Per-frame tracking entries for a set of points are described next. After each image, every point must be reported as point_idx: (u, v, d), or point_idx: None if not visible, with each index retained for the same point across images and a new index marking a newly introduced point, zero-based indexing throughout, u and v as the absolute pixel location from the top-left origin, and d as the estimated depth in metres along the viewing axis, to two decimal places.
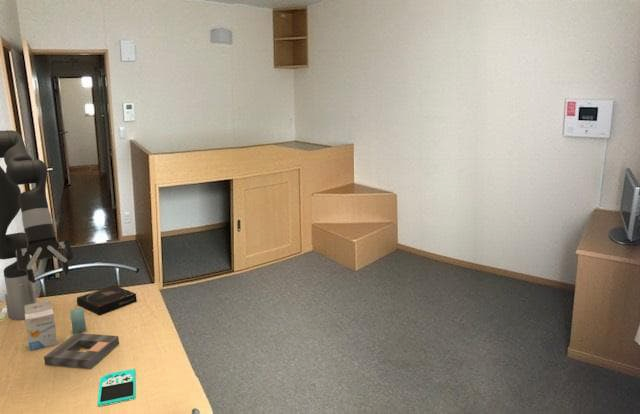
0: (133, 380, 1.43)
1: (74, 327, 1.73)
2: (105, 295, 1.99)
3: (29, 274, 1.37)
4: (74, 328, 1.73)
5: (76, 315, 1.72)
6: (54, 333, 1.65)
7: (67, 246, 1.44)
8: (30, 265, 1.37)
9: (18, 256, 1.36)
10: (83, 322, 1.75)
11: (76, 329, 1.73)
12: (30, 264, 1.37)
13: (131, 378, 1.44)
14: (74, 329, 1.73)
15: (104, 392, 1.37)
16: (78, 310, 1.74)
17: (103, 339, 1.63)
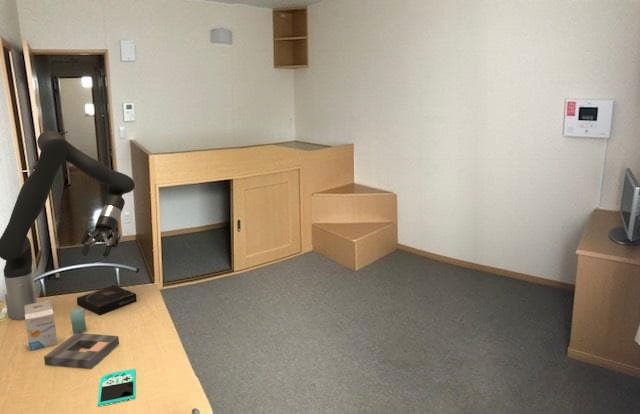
0: (133, 380, 1.43)
1: (74, 327, 1.73)
2: (105, 295, 1.99)
3: None
4: (74, 328, 1.73)
5: (76, 315, 1.72)
6: (54, 333, 1.65)
7: None
8: None
9: None
10: (83, 322, 1.75)
11: (76, 329, 1.73)
12: None
13: (131, 378, 1.44)
14: (74, 329, 1.73)
15: (104, 392, 1.37)
16: (78, 310, 1.74)
17: (103, 339, 1.63)
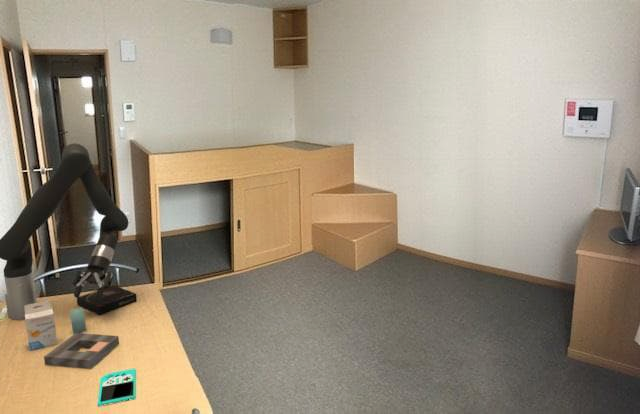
0: (133, 380, 1.43)
1: (74, 327, 1.73)
2: (105, 295, 1.99)
3: None
4: (74, 328, 1.73)
5: (76, 315, 1.72)
6: (54, 333, 1.65)
7: None
8: None
9: None
10: (83, 322, 1.75)
11: (76, 329, 1.73)
12: None
13: (131, 378, 1.44)
14: (74, 329, 1.73)
15: (104, 392, 1.37)
16: (78, 310, 1.74)
17: (103, 339, 1.63)
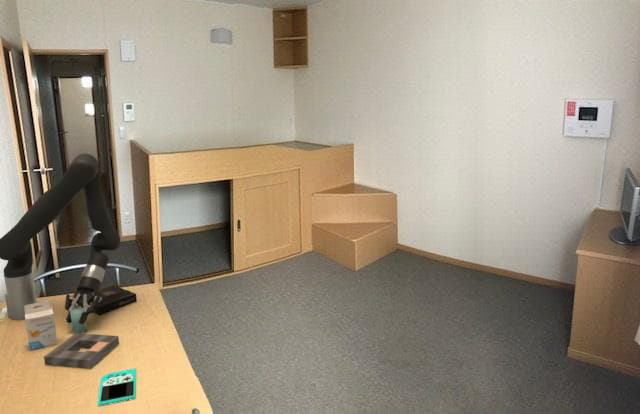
0: (134, 380, 1.43)
1: (74, 327, 1.73)
2: (105, 295, 1.99)
3: None
4: (74, 328, 1.73)
5: (76, 315, 1.72)
6: (54, 333, 1.65)
7: None
8: None
9: None
10: None
11: (76, 329, 1.73)
12: None
13: (132, 378, 1.44)
14: (74, 329, 1.73)
15: (104, 392, 1.38)
16: (78, 310, 1.74)
17: (103, 339, 1.63)
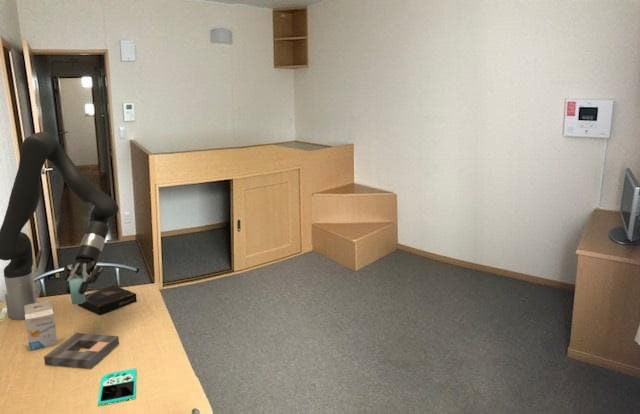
0: (134, 380, 1.43)
1: (73, 297, 1.64)
2: (105, 295, 1.99)
3: None
4: (73, 299, 1.64)
5: (75, 285, 1.63)
6: (54, 333, 1.65)
7: None
8: None
9: None
10: None
11: (75, 299, 1.64)
12: None
13: (132, 378, 1.44)
14: (73, 300, 1.64)
15: (105, 391, 1.38)
16: (77, 280, 1.65)
17: (103, 339, 1.63)
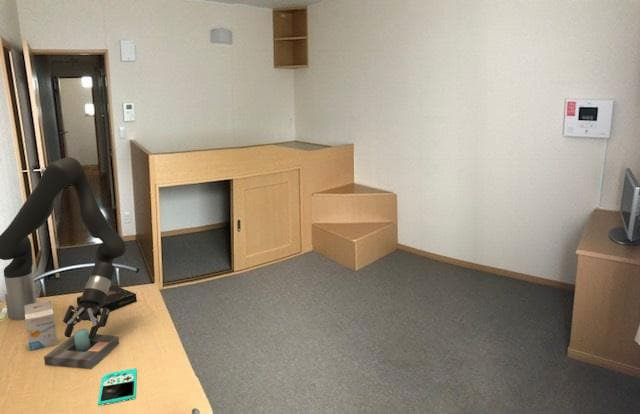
0: (134, 380, 1.43)
1: (78, 350, 1.57)
2: None
3: None
4: None
5: (80, 337, 1.56)
6: (54, 333, 1.65)
7: None
8: None
9: None
10: (88, 344, 1.58)
11: None
12: None
13: (132, 378, 1.44)
14: None
15: (105, 391, 1.38)
16: (82, 331, 1.58)
17: (103, 339, 1.63)
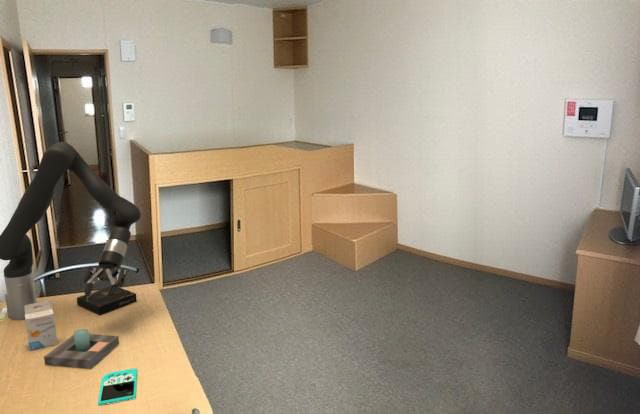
0: (134, 380, 1.43)
1: (78, 350, 1.57)
2: (105, 295, 1.99)
3: None
4: None
5: (80, 337, 1.56)
6: (54, 333, 1.65)
7: None
8: None
9: None
10: (88, 344, 1.58)
11: None
12: None
13: (132, 378, 1.44)
14: None
15: (105, 391, 1.38)
16: (82, 331, 1.58)
17: (103, 339, 1.63)
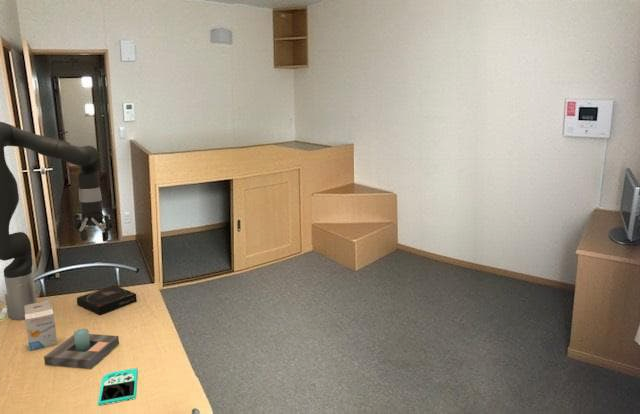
0: (135, 380, 1.43)
1: (78, 350, 1.57)
2: (105, 295, 1.99)
3: None
4: None
5: (80, 337, 1.56)
6: (54, 333, 1.65)
7: None
8: None
9: None
10: (88, 344, 1.58)
11: None
12: None
13: (133, 377, 1.44)
14: None
15: (105, 391, 1.38)
16: (82, 331, 1.58)
17: (103, 339, 1.63)
